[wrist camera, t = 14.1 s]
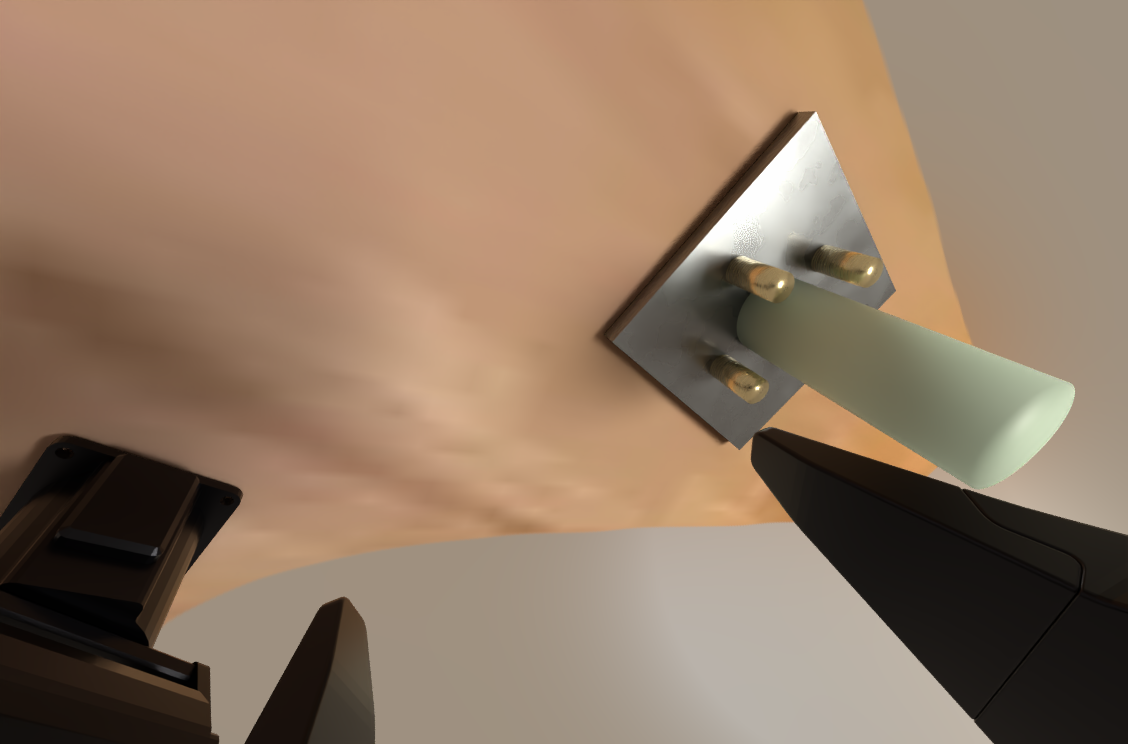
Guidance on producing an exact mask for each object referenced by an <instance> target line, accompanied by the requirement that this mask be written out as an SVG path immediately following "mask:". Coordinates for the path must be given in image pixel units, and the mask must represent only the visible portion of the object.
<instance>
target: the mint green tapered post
mask: <svg viewBox="0 0 1128 744" xmlns="http://www.w3.org/2000/svg"><path fill="white" fill-rule="evenodd" d="M794 280H795V283H794V288H793V290H792V292H791V294H790V295H789V296H788V297H787V298H786V299H785V300H784V301H782V302H780V303H772V302H770V301H768V300H766V299H763V298H761V297H759V296H757V295H754V294H752V293H751V294H750V295H749V296H748V297H747V299H746V300H745V302H744V304H743V306H742V308H741V310H740V312H739V316H738V320H737V335H738V338H739V340H740V342H741V343H742V344H743V345H744V346H745V347H746V348H748V349H750V350H751V351H753V352H754V353H756V354H758V355H759V356H761V357H762V358H764V359H766V360H767V361H769V362H771V363H772V364H774V365H775V366H777V367H779V368H780V369H782V370H783V371H785V372H787V373H788V374H790V375H791V376H793V377H795V378H796V379H798V380H799V381H801V382H803V383H804V384H806V385H808V386H809V387H811V388H812V389H814V390H816V391H817V392H819V393H820V394H822V395H824V396H825V397H827V398H828V399H830V400H832V401H833V402H835V403H836V404H838V405H840V406H841V407H843V408H845V409H846V410H848V411H849V412H851V413H853V414H854V415H856V416H857V417H859V418H861V419H862V420H864V421H865V422H867V423H869V424H870V425H872V426H873V427H875V428H877V429H878V430H880V431H882V432H883V433H885V434H886V435H888V436H890V437H891V438H893V439H894V440H896V441H898V442H899V443H901V444H902V445H904V446H906V447H907V448H909V449H910V450H912V451H914V452H915V453H917V454H919V455H920V456H922V457H923V458H925V459H927V460H928V461H930V462H931V463H933V464H935V465H936V466H938V467H940V468H941V469H943V470H944V471H946V472H948V473H949V474H951V475H952V476H954V477H956V478H957V479H959V480H960V481H962V482H964V483H965V484H967V485H968V486H970V487H972V488H974V489H984V488H988V487H990V486H993V485H995V484H997V483H999V482H1001V481H1003V480H1004V479H1006V478H1007V477H1009V476H1010V475H1012V474H1013V473H1014V472H1016V471H1017V470H1018V469H1020V468H1021V467H1022V466H1023V465H1025V464H1026V463H1027V462H1028V461H1029V460H1030V459H1031V458H1032V457H1033V456H1034V455H1035V454H1036V453H1037V452H1039V450H1040V449H1041V448H1042V447H1043V446H1044V445H1045V444H1046V443H1047V441H1049V440H1050V438H1051V437H1052V436H1053V435H1054V433H1055V432H1056V431H1057V429H1058V428H1059V427H1060V425H1061V424H1062V422H1063V421H1064V419H1065V417H1066V416H1067V414H1068V412H1069V410H1070V408H1071V406H1072V403H1073V400H1074V396H1075V389H1074V386H1073V385H1072V384H1071V383H1068V382H1066V381H1063V380H1060V379H1058V378H1055V377H1053V376H1050V375H1047V374H1045V373H1042V372H1040V371H1037V370H1034V369H1032V368H1029V367H1026V366H1024V365H1021V364H1019V363H1016V362H1013V361H1011V360H1008V359H1006V358H1003V357H1000V356H997V355H995V354H992V353H990V352H987V351H985V350H982V349H979V348H976V347H974V346H972V345H969V344H966V343H964V342H961V341H958V340H956V339H953V338H951V337H948V336H945V335H943V334H940V333H937V332H935V331H932V330H930V329H927V328H924V327H922V326H919V325H917V324H914V323H911V322H909V321H906V320H903V319H901V318H898V317H896V316H893V315H890V314H888V313H885V312H882V311H880V310H877V309H875V308H872V307H869V306H867V305H864V304H862V303H859V302H856V301H854V300H851V299H848V298H846V297H843V296H841V295H838V294H835V293H833V292H830V291H827V290H825V289H822V288H820V287H817V286H814V285H812V284H809V283H806V282H804V281H801V280H799V279H796V278H794Z"/></svg>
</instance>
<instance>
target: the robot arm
mask: <svg viewBox="0 0 1128 744" xmlns="http://www.w3.org/2000/svg"><path fill="white" fill-rule="evenodd" d="M62 448H68V449H70V450H72V451H73V452H67V451H65V450H63V449H62ZM751 463H752V465H753V467H754V469H755V470H756V472H757V473H758V474H759V476H760V477H761V478H762V480H763V481H764V483H765V484H766V485H767V487H768V488H769V489H770V491H771V492H772V493H773V495H774V496H775V497H776V499H777V500H778V501H779V503H780V504H781V505H782V507H783V508H784V509H785V511H786V512H787V513H788V515H789V516H790V517H791V519H792V520H793V521H794V522H795V524H796V525H797V526H798V527H799V528H800V529H801V531H802V532H803V533H804V534H805V535H806V536H807V537H808V538H809V539H810V541H811V542H812V543H813V544H814V545H815V546H816V547H817V548H818V549H819V551H820V552H821V553H822V554H823V555H824V556H825V557H826V558H827V559H828V560H829V562H830V563H831V564H832V565H833V566H834V567H835V568H836V569H837V570H838V572H839V573H840V574H841V575H842V576H843V577H844V578H845V579H846V580H847V581H848V582H849V584H850V585H851V586H852V587H853V588H854V589H855V590H856V591H857V592H858V594H859V595H860V596H861V597H862V598H863V599H864V600H865V601H866V602H867V604H868V605H869V606H870V607H871V608H872V609H873V610H874V611H875V612H876V613H877V614H878V616H879V617H880V618H881V619H882V620H883V621H884V622H885V623H886V625H887V626H888V627H889V628H890V629H891V630H892V631H893V632H894V633H895V634H896V636H898V638H899V639H900V640H901V641H902V642H903V643H904V644H905V646H906V647H907V648H908V649H909V650H910V651H911V652H912V653H913V654H914V656H916V658H917V659H918V660H919V661H920V662H921V663H922V664H923V666H924V667H925V668H926V669H927V670H928V671H929V672H930V673H931V674H932V675H933V676H934V678H935V679H936V680H937V681H938V682H939V683H940V684H941V685H942V686H943V688H945V690H946V691H947V692H948V693H949V694H950V695H951V696H952V698H953V699H954V700H955V701H956V702H957V703H958V704H959V705H960V706H961V707H962V709H963V710H964V711H965V712H966V713H967V714H968V715H969V716H970V717H971V718H972V719H974V722H975V723H976V724H977V726H978V727H979V728H980V729H981V730H982V731H983V732H984V733H985V734H986V736H987V737H988V738H989V739H990V740H991V741H992V742H993V743H994V744H1128V535H1125V534H1122V533H1118V532H1114V531H1110V530H1107V529H1103V528H1099V527H1095V526H1091V525H1088V524H1084V523H1080V522H1076V521H1073V520H1069V519H1065V518H1061V517H1058V516H1054V515H1050V514H1047V513H1043V512H1040V511H1036V510H1032V509H1029V508H1025V507H1022V506H1019V505H1015V504H1012V503H1009V502H1006V501H1002V500H999V499H996V498H992V497H989V496H986V495H983V494H980V493H977V492H974V491H971V490H967V489H961V488H960V487H958V486H954V485H951V484H948V483H945V482H942V481H939V480H936V479H932V478H930V477H927V476H923V475H920V474H917V473H914V472H911V471H908V470H905V469H902V468H898V467H895V466H892V465H889V464H886V463H883V462H880V461H877V460H874V459H870V458H867V457H864V456H861V455H858V454H855V453H852V452H849V451H846V450H842V449H839V448H836V447H833V446H830V445H827V444H824V443H821V442H817V441H814V440H811V439H808V438H805V437H802V436H799V435H796V434H793V433H789V432H786V431H783V430H780V429H777V428H773V427H768V428H765V429H763V430H760V431H757V432H756V433H755V434H754V435H753V440H752V450H751ZM242 496H243V493H242V491H241V490H240V489H239V488H237V487H234V486H231V485H228V484H224V483H221V482H218V481H215V480H212V479H208V478H205V477H202V476H199V475H196V474H192V473H189V472H186V471H183V470H180V469H177V468H173V467H170V466H167V465H164V464H161V463H157V462H154V461H151V460H148V459H145V458H141V457H138V456H135V455H132V454H129V453H125V452H122V451H119V450H116V449H113V448H109V447H106V446H103V445H100V444H97V443H94V442H90V441H87V440H84V439H81V438H78V437H72V436H63V437H60V438H57V439H56V440H55V441H54V442H53V443H52V444H51V445H49V446H48V447H47V449H46V450H45V452H44V453H43V455H42V456H41V457H40V459H39V460H38V462H37V463H36V465H35V466H34V468H33V469H32V471H31V472H30V474H29V475H28V477H27V478H26V480H25V481H24V483H23V484H22V486H21V487H20V489H19V490H18V492H17V493H16V495H15V496H14V498H13V499H12V501H11V502H10V504H9V505H8V507H7V508H6V510H5V511H4V513H3V514H2V516H1V517H0V744H219V736H218V735H217V734H214V733H211V728H212V727H211V701H210V667H209V666H206V665H204V664H201V663H199V662H194V663H189V662H187V661H184V660H181V659H179V658H176V657H173V656H171V655H168V654H166V653H163V652H161V651H158V650H156V649H153V646H154V644H155V641H156V639H157V637H158V634H159V632H160V630H161V628H162V625H163V623H164V621H165V618H166V616H167V614H168V612H169V609H170V607H171V605H172V602H173V600H174V598H175V596H176V593H177V591H178V589H179V586H180V584H181V582H182V580H183V577H184V575H185V574H186V573H187V571H188V570H189V569H190V568H191V566H192V565H193V564H194V562H195V561H196V560H197V558H198V557H199V556H200V555H201V553H202V552H203V551H204V549H205V548H206V547H207V546H208V544H209V543H210V542H211V540H212V539H213V538H214V537H215V535H216V534H217V533H218V531H219V530H220V529H221V528H222V526H223V525H224V524H225V522H226V521H227V520H228V519H229V517H230V516H231V515H232V513H233V512H234V511H235V510H236V508H237V507H238V506H239V504H240V502H241V499H242ZM224 497H231V498H233V499H225V498H224ZM245 744H375V715H374V702H373V692H372V681H371V671H370V661H369V652H368V641H367V631H366V626H365V623H364V620H363V619H362V617H361V616H360V614H359V613H358V611H357V610H356V609H355V607H354V606H353V605H352V603H351V602H350V600H349V599H348V598H346V597H340V598H338V599H335V600H333V601H330V602H328V603H325V604H324V605H322V606H321V607H320V608H319V610H318V612H317V613H316V615H315V617H314V619H313V621H312V622H311V624H310V626H309V628H308V630H307V631H306V633H305V635H304V637H303V639H302V641H301V642H300V644H299V646H298V648H297V649H296V651H295V653H294V655H293V657H292V659H291V660H290V662H289V664H288V666H287V668H286V670H285V671H284V673H283V675H282V677H281V679H280V680H279V682H278V684H277V686H276V687H275V689H274V691H273V693H272V695H271V696H270V698H269V700H268V702H267V704H266V706H265V708H264V709H263V711H262V713H261V715H260V716H259V718H258V720H257V722H256V724H255V725H254V727H253V729H252V731H251V733H250V735H249V736H248V738H247V740H246V742H245Z"/></svg>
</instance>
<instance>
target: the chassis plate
mask: <svg viewBox="0 0 1128 744" xmlns="http://www.w3.org/2000/svg"><path fill="white" fill-rule="evenodd" d="M794 278H796V279H799V280H801V281H804V282H806V283H809V284H812V285H814V286H817V287H820V288H822V289H825V290H827V291H830V292H833V293H835V294H838V295H841V296H843V297H846V298H848V299H851V300H854V301H856V302H859V303H862V304H864V305H867V306H869V307H872V308H875V309H877V310H878V309H879V308H880V307H881V306H882V305H883V303H884V302H885V301H886V300H887V299H888V298H889V297H890V296H891V295H892V294H893V293H894V292H895V291H896V290H895V288H894V285H893V283H892V281H891V279H890V276H889V274H888V272H887V270H886V267H885V265H884V263H883V261H882V258H881V256H880V254H879V252H878V249H877V247H876V245H875V243H874V241H873V238H872V236H871V234H870V232H869V229H868V227H867V225H866V223H865V220H864V218H863V216H862V214H861V211H860V209H859V207H858V205H857V202H856V200H855V198H854V196H853V193H852V191H851V189H850V187H849V184H848V182H847V180H846V178H845V175H844V173H843V171H842V169H841V166H840V164H839V162H838V160H837V157H836V155H835V153H834V151H833V148H832V146H831V144H830V142H829V140H828V137H827V135H826V133H825V131H824V128H823V126H822V124H821V122H820V119H819V117H818V115H817V113H816V111H813V112H799V113H798V114H797V115H796V116H795V117H794V118H793V119H792V121H791V122H790V123H789V124H788V125H787V126H786V127H785V129H784V130H783V131H782V132H781V133H780V134H779V135H778V137H777V138H776V139H775V140H774V141H773V142H772V143H771V145H770V146H769V147H768V148H767V149H766V150H765V151H764V152H763V154H762V155H761V156H760V157H759V158H758V159H757V160H756V162H755V163H754V164H753V165H752V166H751V167H750V168H749V170H748V171H747V172H746V173H745V174H744V175H743V176H742V178H741V179H740V180H739V181H738V182H737V183H736V184H735V186H734V187H733V188H732V189H731V190H730V191H729V192H728V194H727V195H726V196H725V197H724V198H723V199H722V200H721V202H720V203H719V204H718V205H717V206H716V207H715V208H714V210H713V211H712V212H711V213H710V214H709V215H708V216H707V218H706V219H705V220H704V221H703V222H702V223H701V224H700V226H699V227H698V228H697V229H696V230H695V231H694V232H693V234H692V235H691V236H690V237H689V238H688V239H687V240H686V242H685V243H684V244H683V245H682V246H681V247H680V248H679V250H678V251H677V252H676V253H675V254H674V255H673V256H672V258H671V259H670V260H669V261H668V262H667V263H666V264H665V266H664V267H663V268H662V269H661V270H660V271H659V272H658V274H657V275H656V276H655V277H654V278H653V279H652V280H651V282H650V283H649V284H648V285H647V286H646V287H645V288H644V290H643V291H642V292H641V293H640V294H639V295H638V296H637V298H636V299H635V300H634V301H633V302H632V303H631V304H630V305H629V307H628V308H627V309H626V310H625V311H624V312H623V313H622V315H621V316H620V317H619V318H618V319H617V320H616V321H615V323H614V324H613V325H612V326H611V327H610V328H609V329H608V331H607V332H606V333H605V334H604V335H605V336H606V337H607V338H608V339H609V340H610V341H612V342H613V343H614V344H615V345H616V346H617V347H619V348H620V349H621V350H622V351H623V352H624V353H626V354H627V355H628V356H629V357H630V358H632V359H633V360H634V361H635V362H636V363H637V364H639V365H640V366H641V367H642V368H643V369H645V370H646V371H647V372H648V373H649V374H650V375H652V376H653V377H654V378H655V379H656V380H658V381H659V382H660V383H661V384H662V385H663V386H665V387H666V388H667V389H668V390H669V391H671V392H672V393H673V394H674V395H675V396H676V397H678V398H679V399H680V400H681V401H682V402H684V403H685V404H686V405H687V406H688V407H689V408H691V409H692V410H693V411H694V412H695V413H696V414H698V415H699V416H700V417H701V418H702V419H704V420H705V421H706V422H707V423H708V424H709V425H711V426H712V427H713V428H714V429H715V430H717V431H718V432H719V433H720V434H721V435H722V436H724V437H725V438H726V439H727V440H728V441H730V442H731V443H732V444H733V445H734V446H735V447H737V448H738V449H739V450H740V449H741V448H742V447H743V446H744V445H745V444H746V443H747V442H748V441H749V440H750V439H751V438H752V437H753V435H754V434H755V433H756V432H757V431H759V430H760V429H761V428H762V427H763V426H764V425H765V424H766V423H767V422H768V421H769V420H770V419H771V417H772V416H773V415H774V414H775V413H776V412H777V411H778V410H779V409H780V408H781V407H782V406H783V405H784V404H785V403H786V402H787V401H788V400H789V399H790V398H791V397H792V396H793V395H794V394H795V393H796V392H797V391H798V390H799V389H800V388H801V387H802V386H803V385H804V383H803V382H801V381H799V380H798V379H796V378H795V377H793V376H791V375H790V374H788V373H787V372H785V371H783V370H782V369H780V368H779V367H777V366H775V365H774V364H772V363H771V362H769V361H767V360H766V359H764V358H762V357H761V356H759V355H758V354H756V353H754V352H753V351H751V350H750V349H748V348H746V347H745V346H744V345H743V344H742V343H741V342H740V340H739V338H738V335H737V320H738V316H739V312H740V310H741V308H742V306H743V304H744V302H745V300H746V299H747V297H748V296H749V295H750V294H751V293H752V294H754V295H757V296H759V297H761V298H763V299H766V300H768V301H770V302H772V303H780V302H782V301H784V300H785V299H786V298H787V297H788V296H789V295H790V294H791V292H792V290H793V288H794V283H795V280H794Z"/></svg>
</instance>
